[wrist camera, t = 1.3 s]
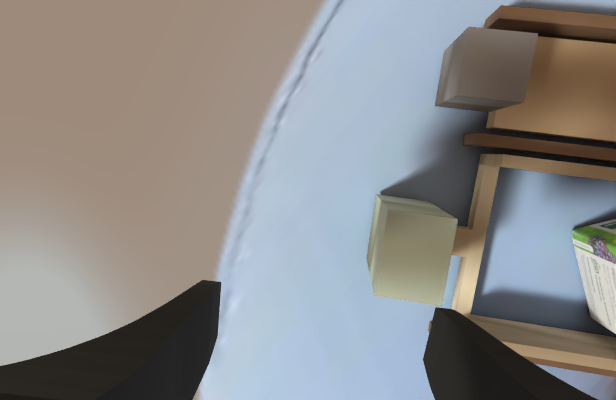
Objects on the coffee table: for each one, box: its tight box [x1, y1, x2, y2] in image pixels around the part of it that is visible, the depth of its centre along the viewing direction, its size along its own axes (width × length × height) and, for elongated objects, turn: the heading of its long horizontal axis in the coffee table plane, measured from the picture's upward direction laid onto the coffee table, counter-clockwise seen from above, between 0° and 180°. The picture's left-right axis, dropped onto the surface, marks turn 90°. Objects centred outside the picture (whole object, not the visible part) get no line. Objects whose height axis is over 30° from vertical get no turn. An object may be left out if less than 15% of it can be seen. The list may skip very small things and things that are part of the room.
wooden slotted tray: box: [367, 154, 616, 371], centre depth 18 cm, size 10×20×6 cm, turn 83°
